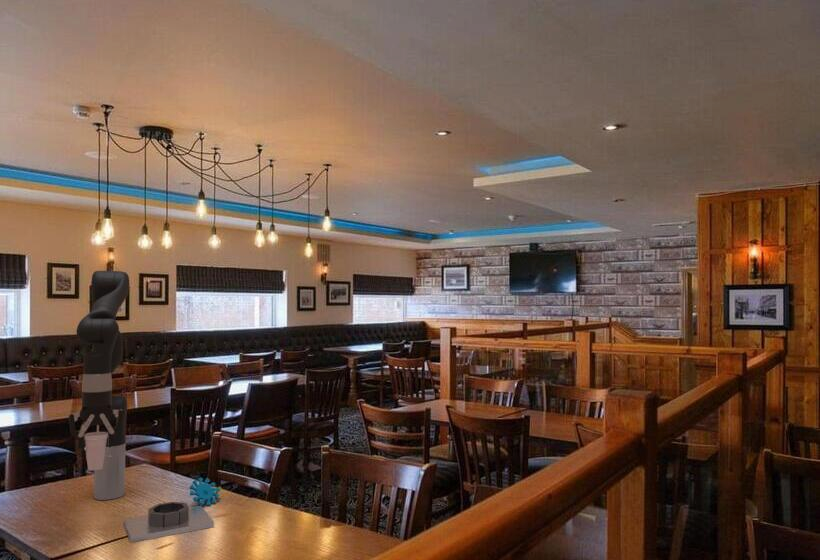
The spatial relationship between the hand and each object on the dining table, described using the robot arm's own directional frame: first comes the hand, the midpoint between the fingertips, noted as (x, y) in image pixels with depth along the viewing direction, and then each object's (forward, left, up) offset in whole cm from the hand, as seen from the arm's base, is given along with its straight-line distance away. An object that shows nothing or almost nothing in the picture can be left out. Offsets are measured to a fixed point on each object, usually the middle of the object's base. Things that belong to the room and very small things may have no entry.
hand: (95, 448), depth 171 cm
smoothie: (0, 0, -6) cm, 6 cm away
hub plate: (+5, +19, -24) cm, 30 cm away
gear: (-10, +33, -24) cm, 42 cm away
